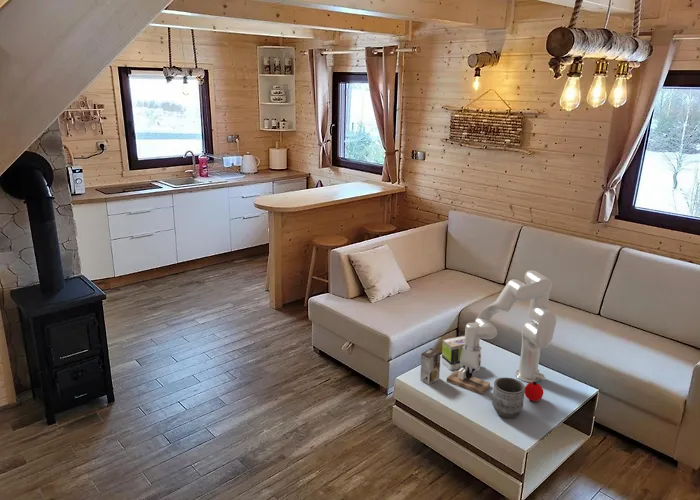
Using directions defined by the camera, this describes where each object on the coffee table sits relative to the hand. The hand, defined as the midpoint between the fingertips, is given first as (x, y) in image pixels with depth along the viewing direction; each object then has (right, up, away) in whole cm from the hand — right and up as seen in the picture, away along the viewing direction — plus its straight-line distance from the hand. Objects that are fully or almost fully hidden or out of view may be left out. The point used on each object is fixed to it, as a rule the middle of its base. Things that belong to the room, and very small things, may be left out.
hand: (468, 377), depth 274 cm
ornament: (+29, -8, -12) cm, 33 cm away
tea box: (-2, +2, +21) cm, 21 cm away
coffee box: (-20, -2, +5) cm, 21 cm away
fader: (-3, -1, +3) cm, 4 cm away
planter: (+13, -11, -23) cm, 29 cm away
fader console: (0, -3, +1) cm, 4 cm away
